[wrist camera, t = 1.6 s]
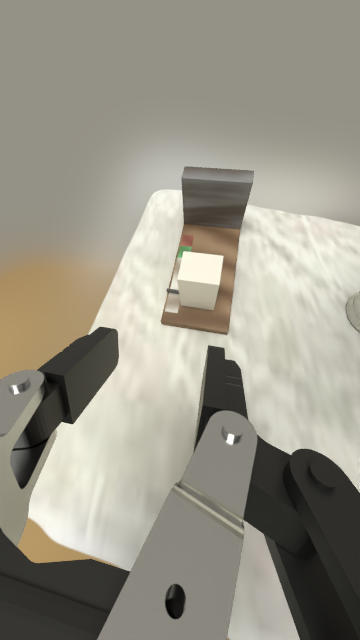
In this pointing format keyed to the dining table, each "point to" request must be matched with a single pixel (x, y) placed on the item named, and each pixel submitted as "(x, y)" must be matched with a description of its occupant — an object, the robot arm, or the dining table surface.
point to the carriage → (199, 280)
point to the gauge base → (210, 240)
